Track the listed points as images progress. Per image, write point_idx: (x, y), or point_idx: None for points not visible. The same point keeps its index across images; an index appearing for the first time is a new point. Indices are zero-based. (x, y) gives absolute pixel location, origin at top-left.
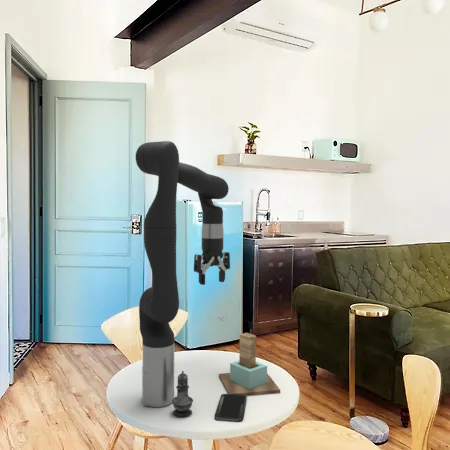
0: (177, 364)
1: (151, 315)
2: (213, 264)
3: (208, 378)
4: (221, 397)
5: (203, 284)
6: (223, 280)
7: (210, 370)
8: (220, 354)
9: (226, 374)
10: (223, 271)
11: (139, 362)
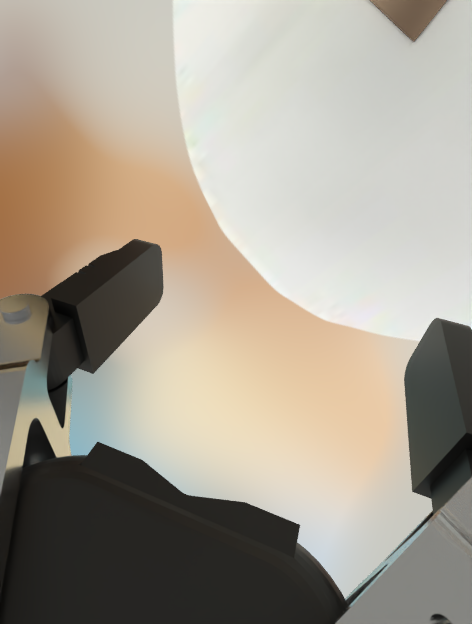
0: (388, 249)
1: None
2: (200, 531)
3: (454, 62)
4: None
5: (462, 325)
6: (141, 244)
7: (372, 122)
8: (234, 200)
9: (405, 3)
10: (56, 313)
11: None
